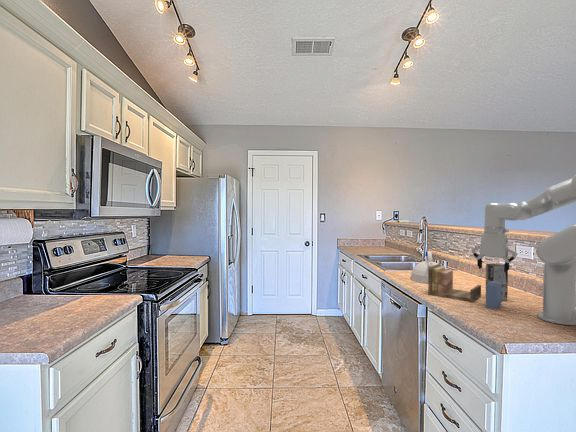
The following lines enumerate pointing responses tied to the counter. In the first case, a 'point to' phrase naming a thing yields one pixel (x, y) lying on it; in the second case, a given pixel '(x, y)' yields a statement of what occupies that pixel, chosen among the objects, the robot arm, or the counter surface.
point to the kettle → (422, 269)
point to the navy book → (493, 295)
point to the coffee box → (498, 277)
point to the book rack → (448, 285)
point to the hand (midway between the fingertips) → (492, 269)
